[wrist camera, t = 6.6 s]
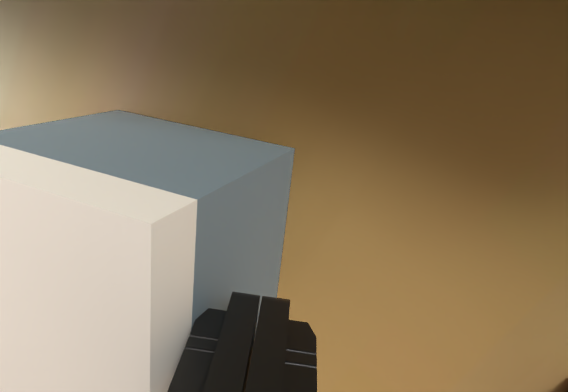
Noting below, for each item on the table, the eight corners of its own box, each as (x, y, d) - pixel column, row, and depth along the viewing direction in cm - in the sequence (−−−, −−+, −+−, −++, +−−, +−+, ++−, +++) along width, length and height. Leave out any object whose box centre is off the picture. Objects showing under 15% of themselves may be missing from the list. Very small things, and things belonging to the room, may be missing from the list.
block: (294, 148, 14) (151, 223, 8) (272, 332, 17) (148, 494, 11) (118, 110, 17) (-96, 146, 11) (121, 276, 19) (-51, 384, 13)
